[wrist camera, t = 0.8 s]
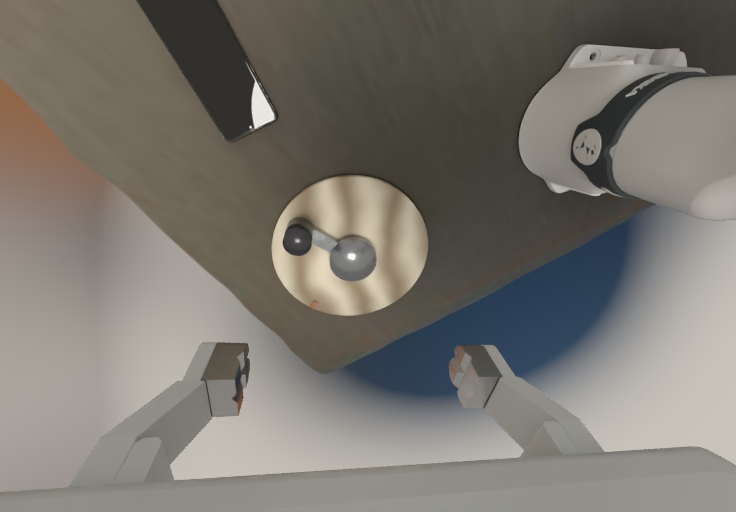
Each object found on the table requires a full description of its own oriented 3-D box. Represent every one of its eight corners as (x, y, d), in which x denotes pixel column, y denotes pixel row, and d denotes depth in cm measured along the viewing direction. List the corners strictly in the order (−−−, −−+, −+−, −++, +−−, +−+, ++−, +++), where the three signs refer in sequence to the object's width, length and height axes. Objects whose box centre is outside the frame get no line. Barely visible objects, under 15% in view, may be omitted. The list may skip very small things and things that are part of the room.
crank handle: (384, 250, 46) (390, 268, 41) (357, 282, 48) (361, 303, 43) (302, 199, 40) (298, 214, 36) (277, 238, 43) (270, 257, 38)
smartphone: (190, -48, 29) (279, 119, 36) (195, -43, 30) (280, 118, 37) (127, -11, 29) (227, 145, 37) (134, -7, 30) (230, 144, 38)
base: (420, 160, 41) (424, 163, 40) (428, 295, 53) (431, 301, 52) (250, 191, 41) (247, 195, 39) (297, 321, 53) (296, 327, 51)
